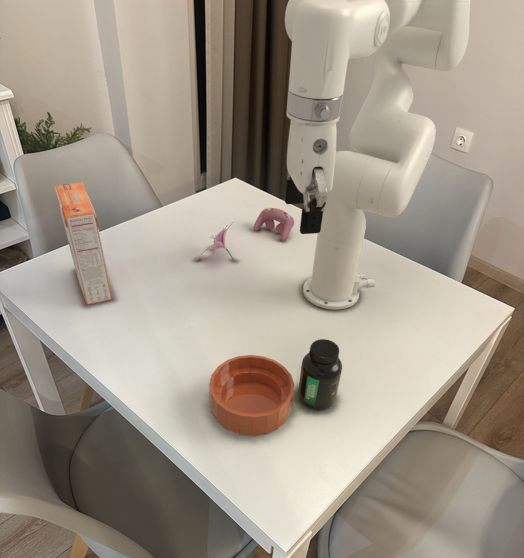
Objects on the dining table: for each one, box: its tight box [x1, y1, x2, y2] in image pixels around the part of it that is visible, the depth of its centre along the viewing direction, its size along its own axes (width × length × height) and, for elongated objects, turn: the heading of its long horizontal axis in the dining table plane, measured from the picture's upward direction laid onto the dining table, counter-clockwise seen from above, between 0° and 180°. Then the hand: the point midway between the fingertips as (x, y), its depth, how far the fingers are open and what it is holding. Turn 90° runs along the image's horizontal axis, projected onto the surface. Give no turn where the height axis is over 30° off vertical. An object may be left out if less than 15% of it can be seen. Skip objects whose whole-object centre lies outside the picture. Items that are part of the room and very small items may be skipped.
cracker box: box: [54, 181, 113, 306], centre depth 107 cm, size 14×6×21 cm, turn 24°
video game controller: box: [253, 207, 295, 242], centre depth 133 cm, size 10×5×7 cm, turn 58°
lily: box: [196, 223, 236, 262], centre depth 122 cm, size 12×12×10 cm
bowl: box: [208, 354, 295, 437], centre depth 88 cm, size 14×14×6 cm
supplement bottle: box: [297, 338, 343, 412], centre depth 88 cm, size 7×7×12 cm
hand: (301, 217), depth 83 cm, fingers open, 9 cm apart
